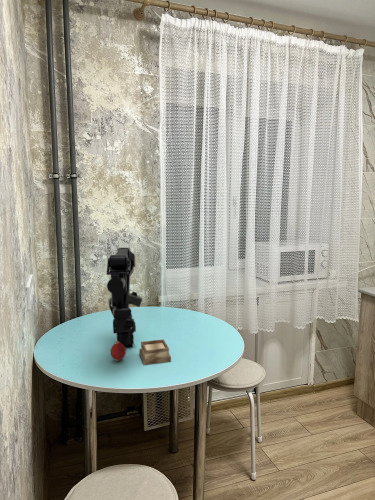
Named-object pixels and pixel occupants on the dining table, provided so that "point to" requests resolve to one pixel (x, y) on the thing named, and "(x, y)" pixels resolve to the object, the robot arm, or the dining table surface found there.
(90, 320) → the dining table surface
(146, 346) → the pedestal
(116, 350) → the pomegranate
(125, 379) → the dining table surface
